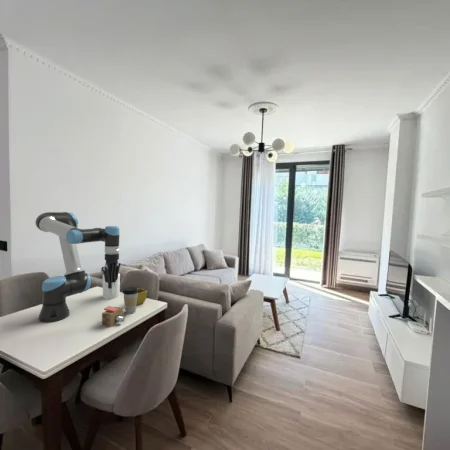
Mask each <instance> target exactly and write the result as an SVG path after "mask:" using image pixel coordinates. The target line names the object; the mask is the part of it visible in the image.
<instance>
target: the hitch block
mask: <svg viewBox="0 0 450 450" xmlns="http://www.w3.org/2000/svg"><path fill="white" fill-rule="evenodd" d="M114 307H115V308H119V310H117V311H115V312H111V311H107V310H104V311H103V312H101V325H102V326H104V327H113V326H115V325H116V324H118V323H119V321H115V316H119V317H124V308H123V307H119V306H114Z"/></svg>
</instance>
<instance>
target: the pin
mask: <svg viewBox="0 0 450 450" xmlns="http://www.w3.org/2000/svg"><path fill="white" fill-rule="evenodd" d="M115 321H119V322H120V323H123V322H124V321H125V317H124V316H123V317H119V316H115ZM119 322H118V323H119Z"/></svg>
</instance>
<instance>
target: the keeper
mask: <svg viewBox="0 0 450 450" xmlns="http://www.w3.org/2000/svg"><path fill="white" fill-rule="evenodd" d="M115 307H116V306H110V305H108V306H107V307H104V308H103V310H104V311H111V312H115V311H117V310H119V308H115Z"/></svg>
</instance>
